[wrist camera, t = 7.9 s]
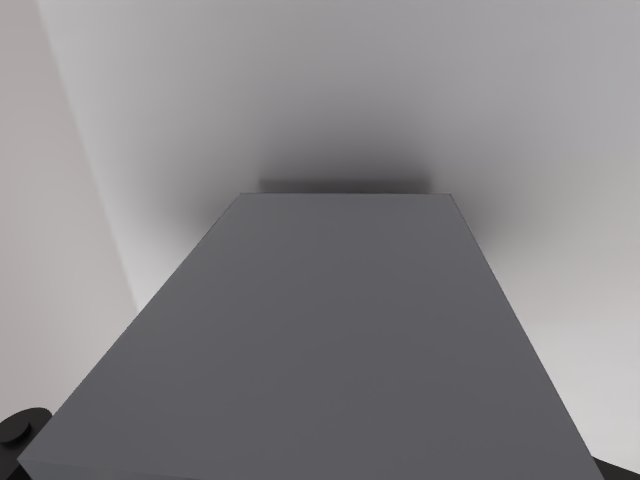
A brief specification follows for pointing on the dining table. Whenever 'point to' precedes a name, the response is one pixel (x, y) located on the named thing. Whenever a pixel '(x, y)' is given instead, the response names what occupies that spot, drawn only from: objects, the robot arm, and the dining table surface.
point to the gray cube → (320, 359)
